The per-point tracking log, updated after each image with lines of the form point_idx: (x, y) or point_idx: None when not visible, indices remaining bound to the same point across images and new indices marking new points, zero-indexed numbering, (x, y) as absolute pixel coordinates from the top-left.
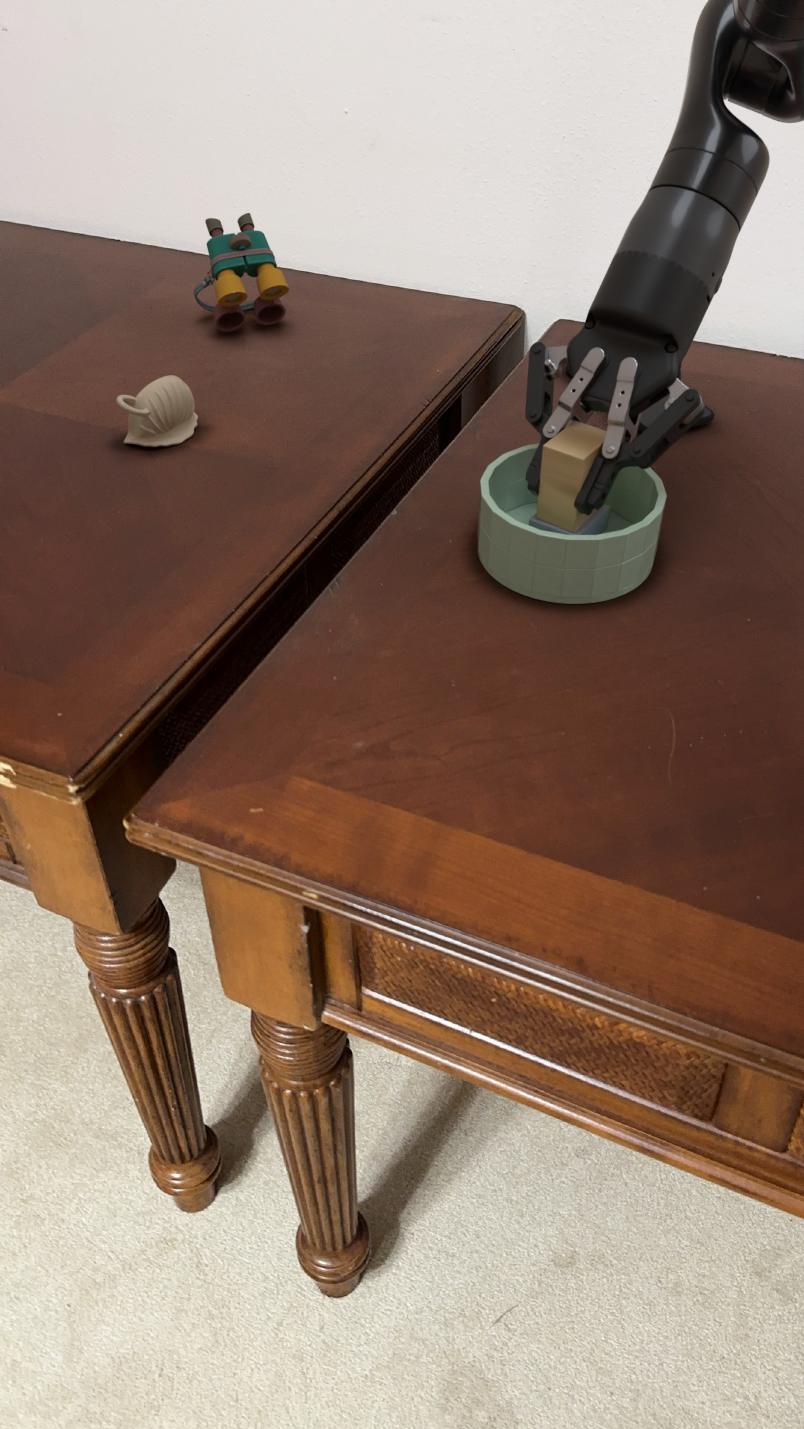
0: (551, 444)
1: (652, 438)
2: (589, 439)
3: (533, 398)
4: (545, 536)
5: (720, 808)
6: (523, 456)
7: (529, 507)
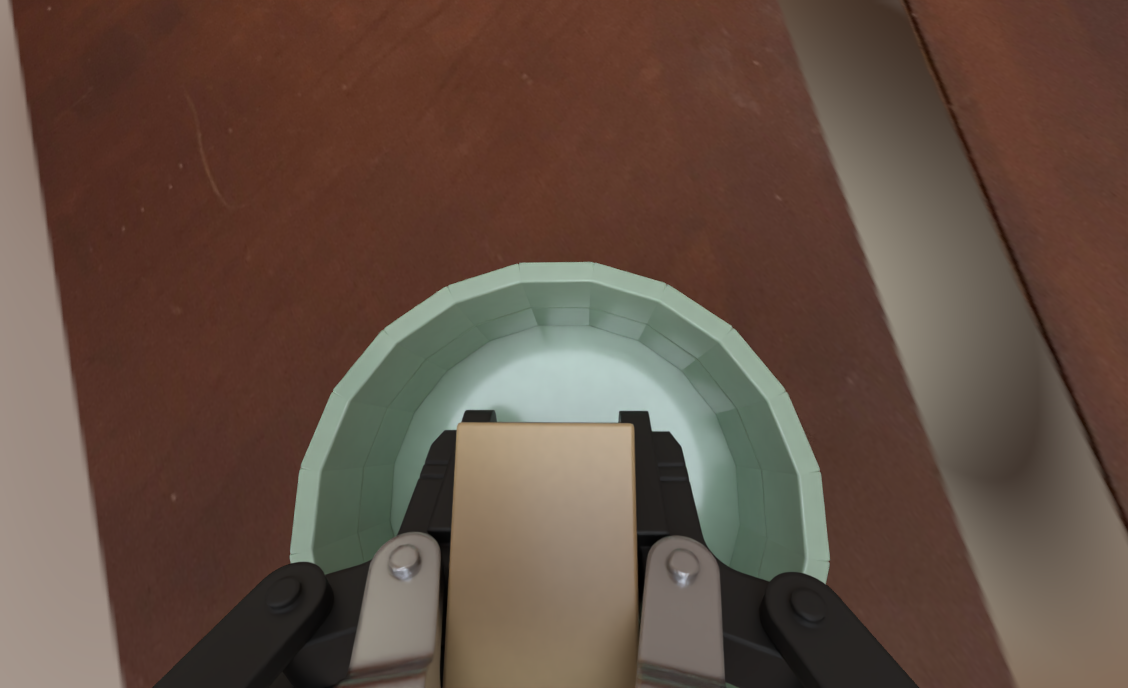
0: (610, 449)
1: (206, 665)
2: (503, 576)
3: (872, 682)
4: (499, 270)
5: (116, 92)
6: None
7: None
